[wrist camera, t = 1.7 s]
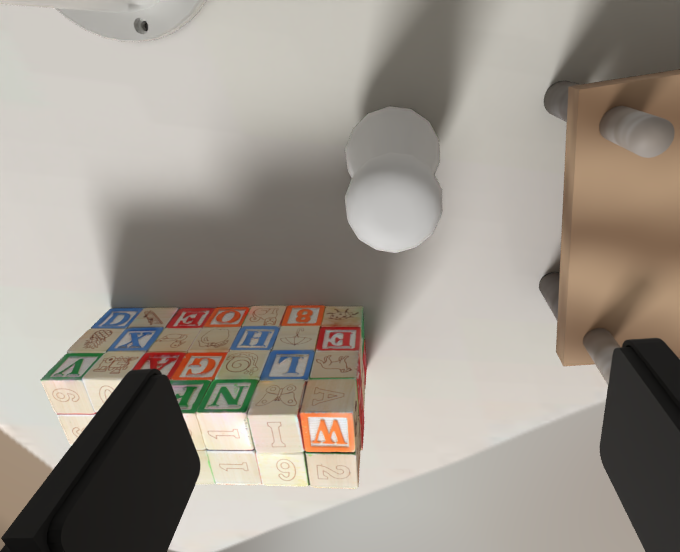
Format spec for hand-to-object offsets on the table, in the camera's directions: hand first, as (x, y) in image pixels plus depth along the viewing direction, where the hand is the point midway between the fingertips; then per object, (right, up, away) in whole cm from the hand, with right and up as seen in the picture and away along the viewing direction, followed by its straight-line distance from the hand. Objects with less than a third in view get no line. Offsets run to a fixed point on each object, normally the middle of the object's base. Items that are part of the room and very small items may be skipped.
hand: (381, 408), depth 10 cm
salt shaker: (+3, +11, +21) cm, 25 cm away
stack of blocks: (-9, -2, +30) cm, 31 cm away
